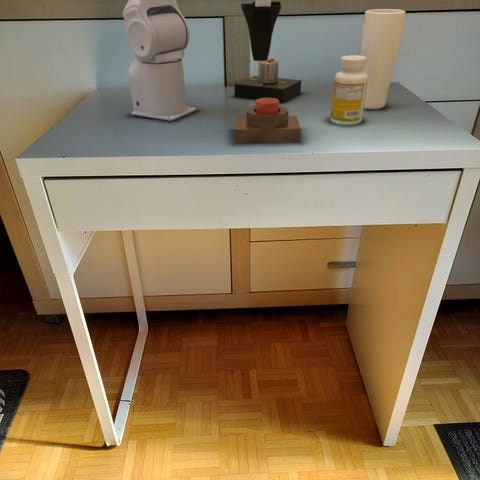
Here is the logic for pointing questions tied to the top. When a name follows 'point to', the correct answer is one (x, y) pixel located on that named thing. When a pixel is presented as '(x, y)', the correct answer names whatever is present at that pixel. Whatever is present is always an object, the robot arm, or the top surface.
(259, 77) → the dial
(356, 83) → the supplement bottle
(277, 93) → the dial panel
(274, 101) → the button
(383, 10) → the tall cream tumbler
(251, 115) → the button block
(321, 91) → the top surface
